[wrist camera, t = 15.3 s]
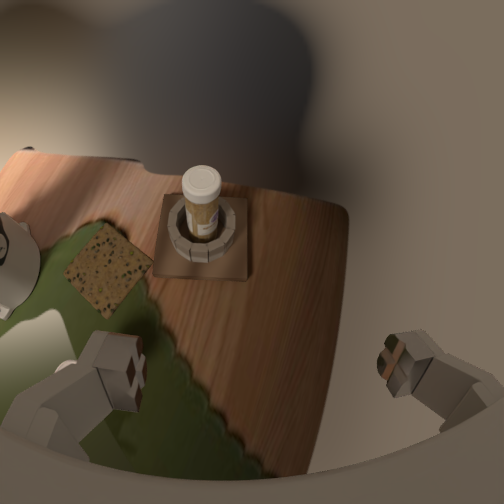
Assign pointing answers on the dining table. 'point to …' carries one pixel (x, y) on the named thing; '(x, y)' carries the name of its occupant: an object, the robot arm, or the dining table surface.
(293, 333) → the dining table surface
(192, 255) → the collar stand
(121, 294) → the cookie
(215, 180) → the sprinkles bottle
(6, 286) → the robot arm
